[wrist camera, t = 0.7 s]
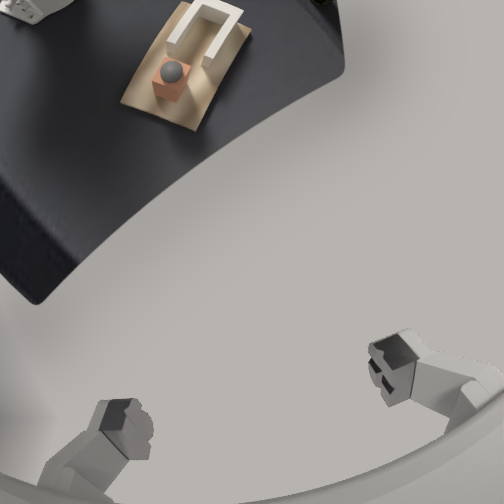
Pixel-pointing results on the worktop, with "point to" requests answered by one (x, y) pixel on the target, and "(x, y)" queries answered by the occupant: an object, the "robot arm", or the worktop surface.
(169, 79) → the plug
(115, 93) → the worktop surface
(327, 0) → the beer can
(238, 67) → the worktop surface
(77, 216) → the worktop surface
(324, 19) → the worktop surface
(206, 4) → the socket
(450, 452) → the robot arm
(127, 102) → the base board
